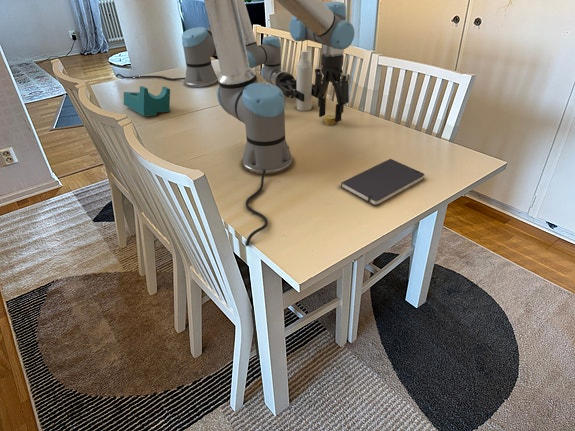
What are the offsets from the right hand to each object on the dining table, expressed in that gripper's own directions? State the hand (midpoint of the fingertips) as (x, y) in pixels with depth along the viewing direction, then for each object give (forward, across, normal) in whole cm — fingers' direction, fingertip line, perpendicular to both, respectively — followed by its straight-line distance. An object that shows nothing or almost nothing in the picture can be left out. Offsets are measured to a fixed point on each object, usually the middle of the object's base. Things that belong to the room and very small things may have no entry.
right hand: (330, 118), depth 150 cm
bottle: (+2, +18, -5) cm, 18 cm away
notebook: (+2, -39, +23) cm, 46 cm away
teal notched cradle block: (+2, +64, +38) cm, 75 cm away
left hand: (-5, +13, -3) cm, 14 cm away
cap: (0, 0, 0) cm, 0 cm away
